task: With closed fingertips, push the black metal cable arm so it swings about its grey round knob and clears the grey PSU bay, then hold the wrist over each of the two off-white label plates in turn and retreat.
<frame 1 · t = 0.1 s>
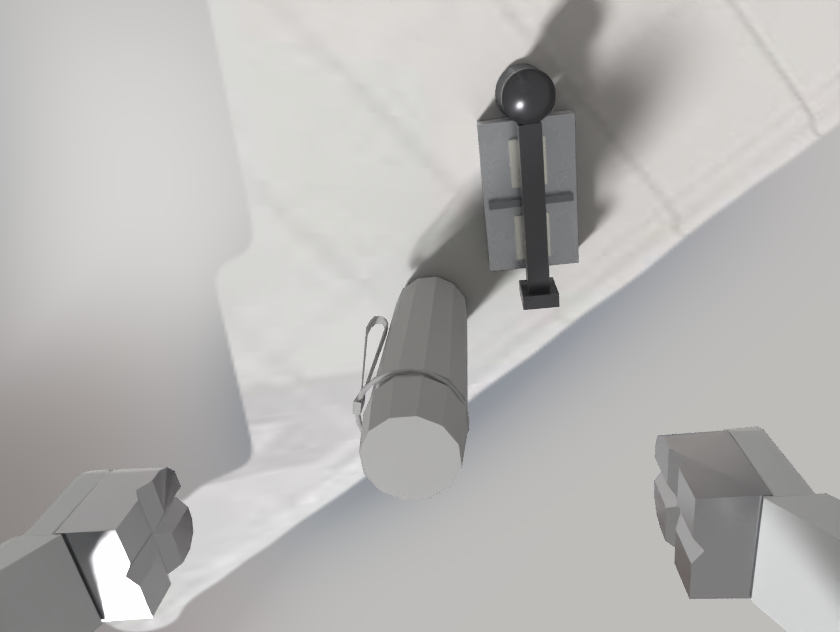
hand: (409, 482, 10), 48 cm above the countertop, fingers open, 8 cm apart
psu bay: (526, 189, 55), on the countertop
grey round knob: (520, 91, 52), on the countertop
cable arm: (532, 192, 50), point 6 cm above the countertop, hinge at 0.0°
water bottle: (422, 304, 61), on the countertop
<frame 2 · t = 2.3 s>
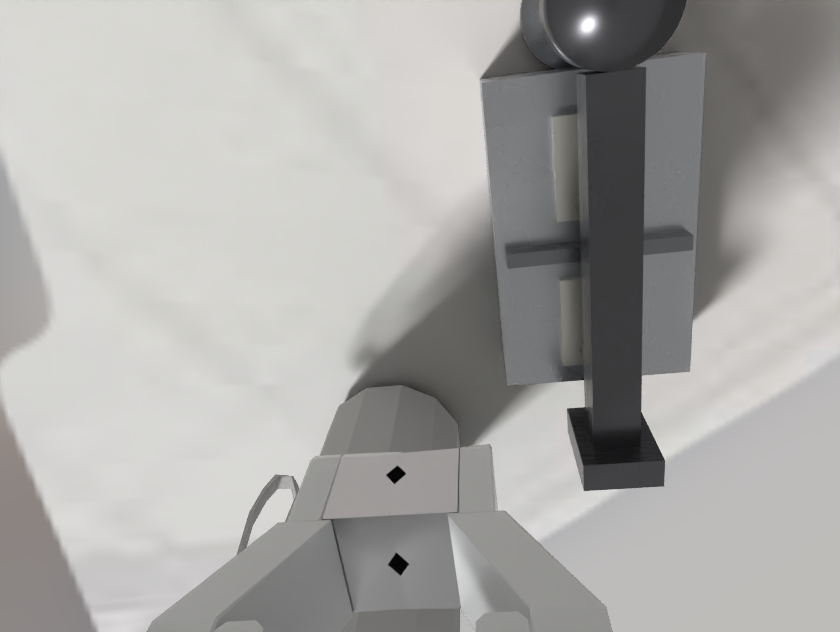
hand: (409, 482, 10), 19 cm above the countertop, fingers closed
psu bay: (581, 220, 27), on the countertop
grey round knob: (575, 11, 24), on the countertop
cable arm: (610, 236, 21), point 6 cm above the countertop, hinge at 0.0°
water bottle: (379, 429, 33), on the countertop
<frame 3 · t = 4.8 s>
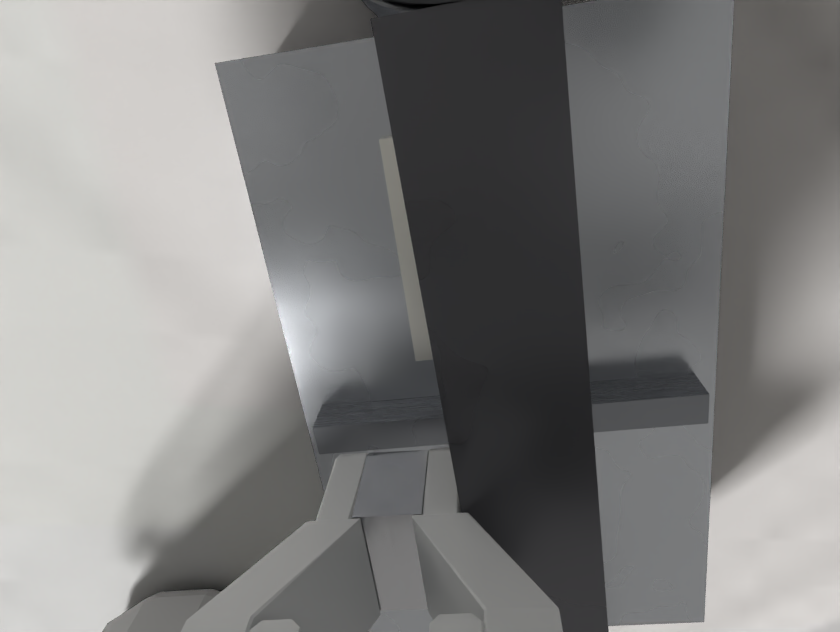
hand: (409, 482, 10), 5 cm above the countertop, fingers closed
psu bay: (494, 326, 15), on the countertop
cable arm: (519, 434, 9), point 6 cm above the countertop, hinge at 1.6°, touching gripper
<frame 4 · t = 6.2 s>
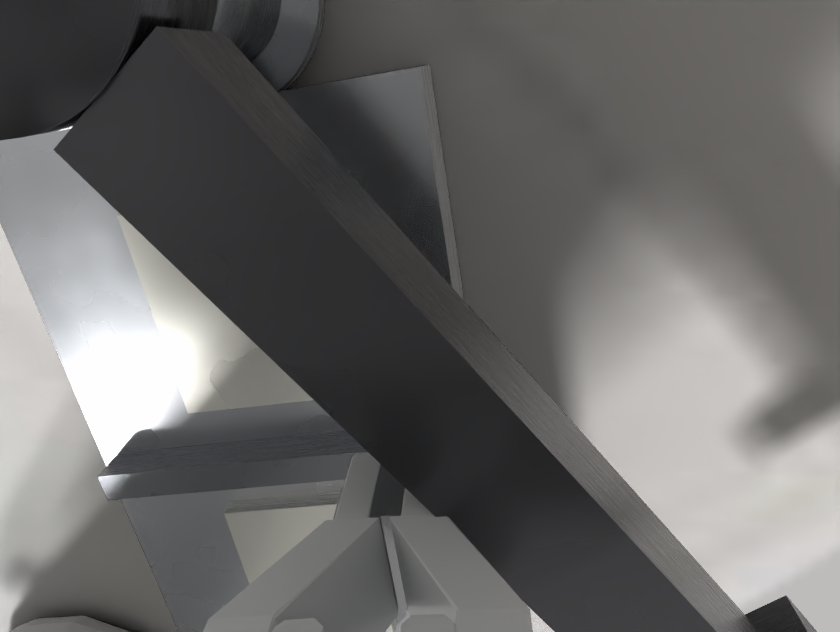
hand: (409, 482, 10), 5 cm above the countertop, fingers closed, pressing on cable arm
psu bay: (313, 368, 15), on the countertop
cable arm: (451, 405, 8), point 6 cm above the countertop, hinge at 32.1°, touching gripper
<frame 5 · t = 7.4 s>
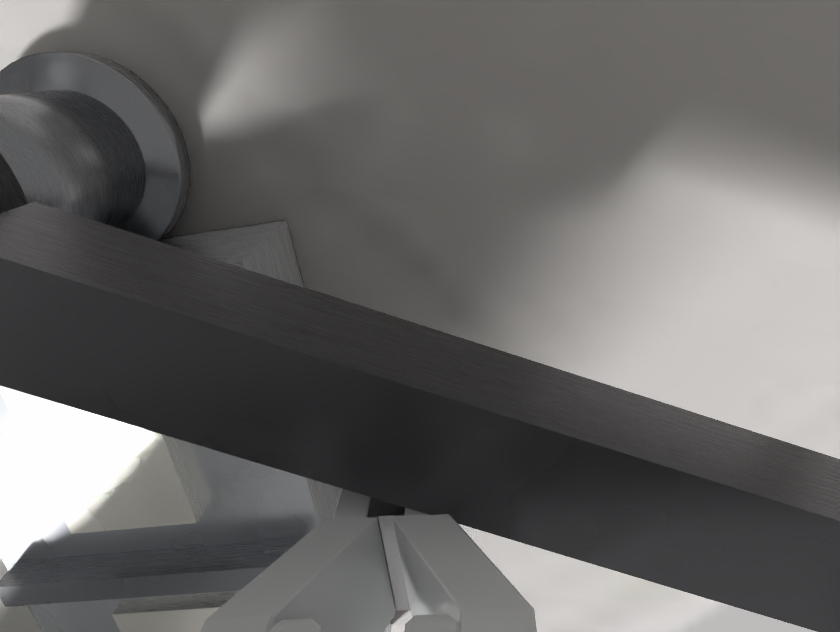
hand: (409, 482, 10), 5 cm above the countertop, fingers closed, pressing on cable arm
psu bay: (207, 468, 17), on the countertop
grey round knob: (93, 159, 14), on the countertop
cable arm: (377, 400, 8), point 6 cm above the countertop, hinge at 62.8°, touching gripper
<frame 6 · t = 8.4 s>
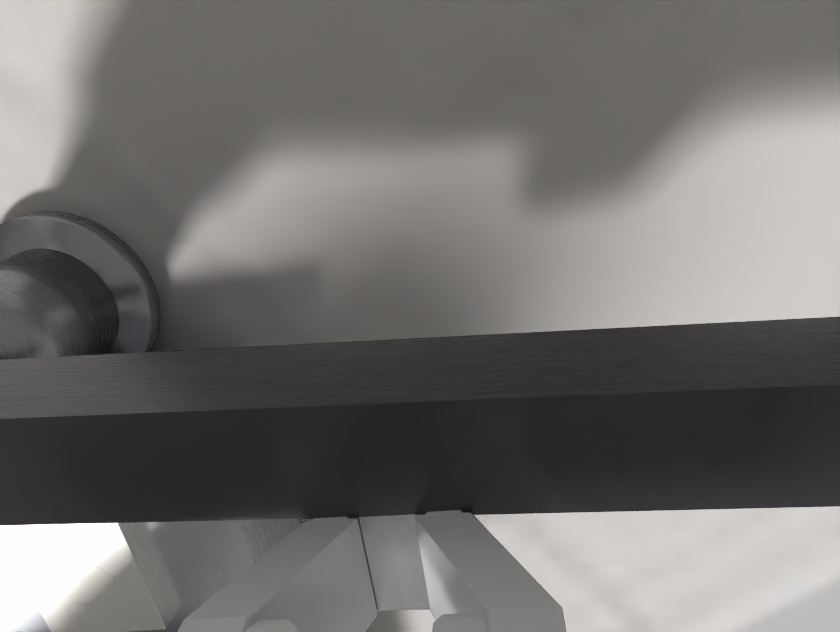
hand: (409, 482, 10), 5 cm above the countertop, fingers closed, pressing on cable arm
psu bay: (181, 556, 18), on the countertop
grey round knob: (72, 299, 15), on the countertop
cable arm: (314, 426, 9), point 6 cm above the countertop, hinge at 85.7°, touching gripper
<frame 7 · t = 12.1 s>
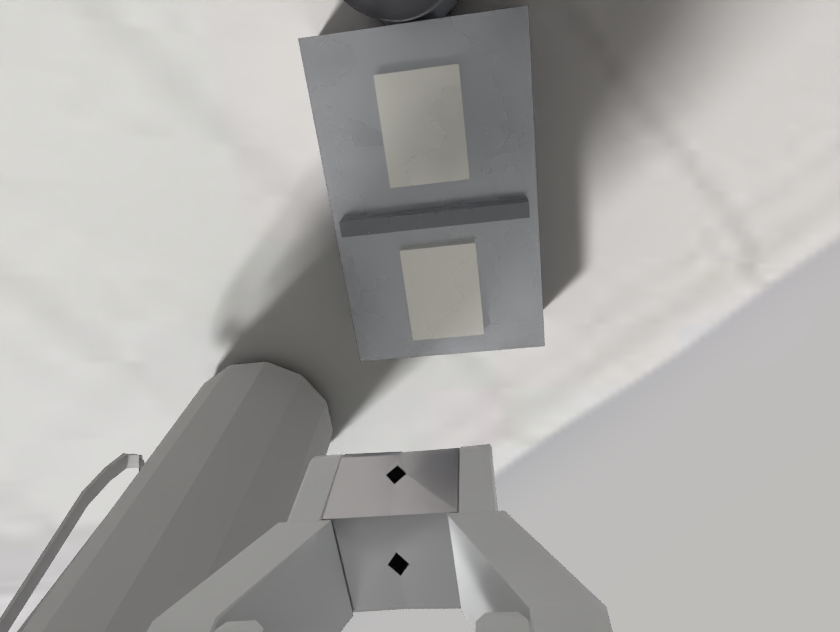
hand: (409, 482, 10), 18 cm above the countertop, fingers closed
psu bay: (436, 189, 26), on the countertop
water bottle: (252, 408, 32), on the countertop
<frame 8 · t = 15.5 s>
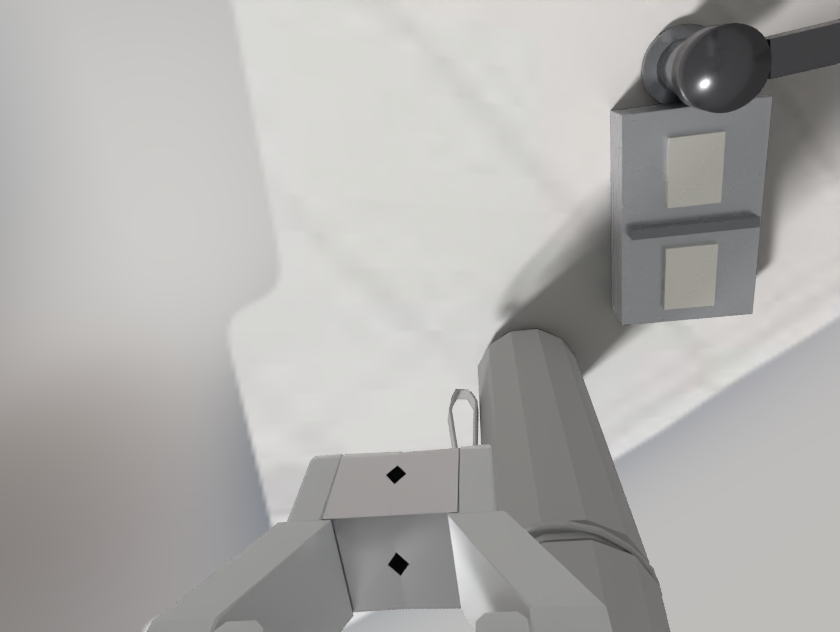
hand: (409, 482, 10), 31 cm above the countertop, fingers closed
psu bay: (675, 208, 39), on the countertop
grey round knob: (680, 66, 35), on the countertop
water bottle: (513, 365, 44), on the countertop
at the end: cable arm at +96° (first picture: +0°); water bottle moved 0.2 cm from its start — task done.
